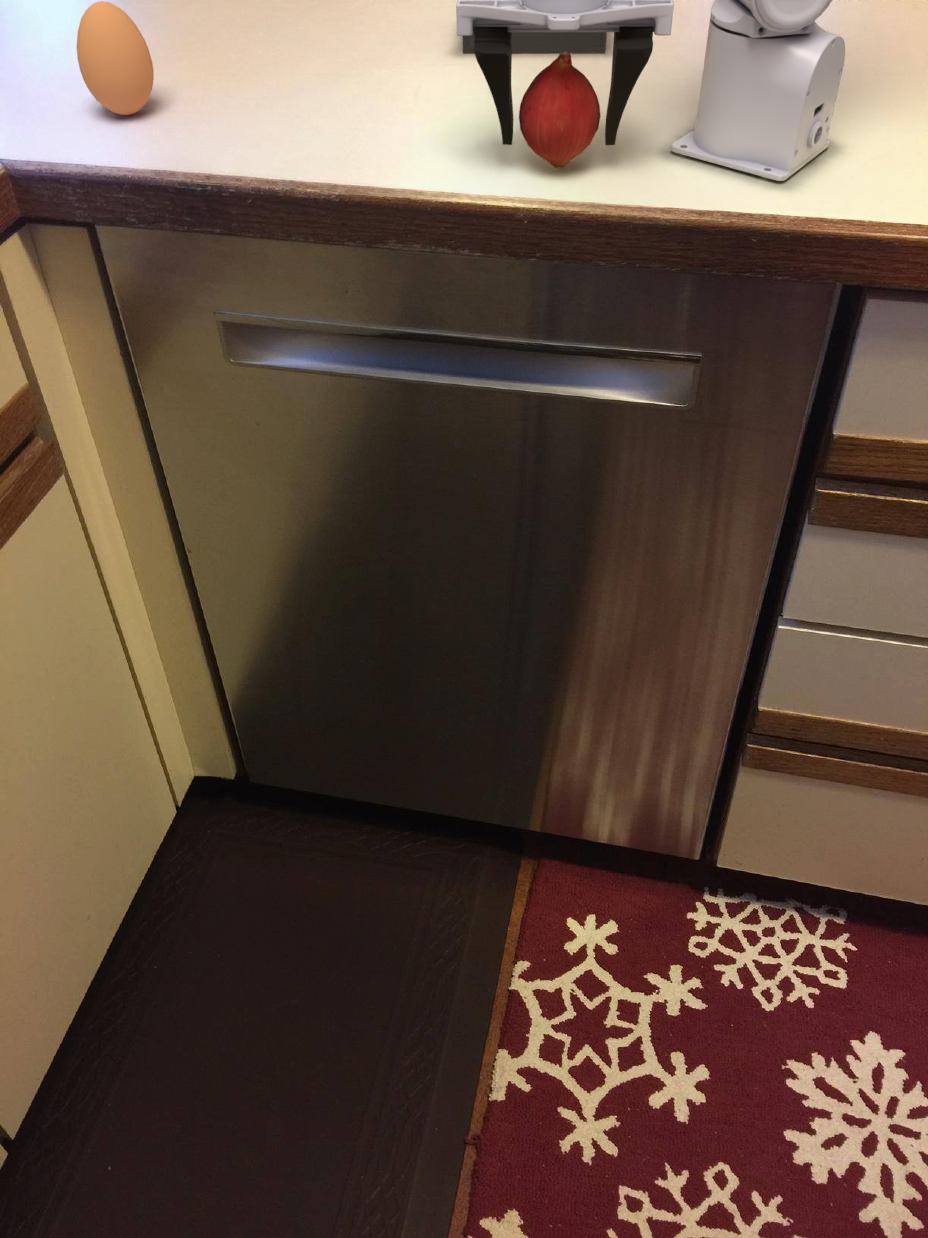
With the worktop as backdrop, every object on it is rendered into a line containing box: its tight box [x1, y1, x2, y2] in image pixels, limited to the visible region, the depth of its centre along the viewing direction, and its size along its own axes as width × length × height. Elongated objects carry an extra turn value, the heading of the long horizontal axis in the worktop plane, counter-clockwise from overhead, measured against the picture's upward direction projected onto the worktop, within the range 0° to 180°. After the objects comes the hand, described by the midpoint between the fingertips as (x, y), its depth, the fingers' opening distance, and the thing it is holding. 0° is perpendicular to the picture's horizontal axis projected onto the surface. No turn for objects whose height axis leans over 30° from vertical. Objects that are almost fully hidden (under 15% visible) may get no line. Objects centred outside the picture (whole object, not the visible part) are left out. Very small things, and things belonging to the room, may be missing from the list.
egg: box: [76, 0, 155, 116], centre depth 84 cm, size 6×6×8 cm
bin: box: [462, 32, 608, 54], centre depth 96 cm, size 13×8×4 cm, turn 86°
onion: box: [518, 52, 601, 169], centre depth 74 cm, size 6×6×8 cm
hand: (558, 139), depth 76 cm, fingers open, 7 cm apart
